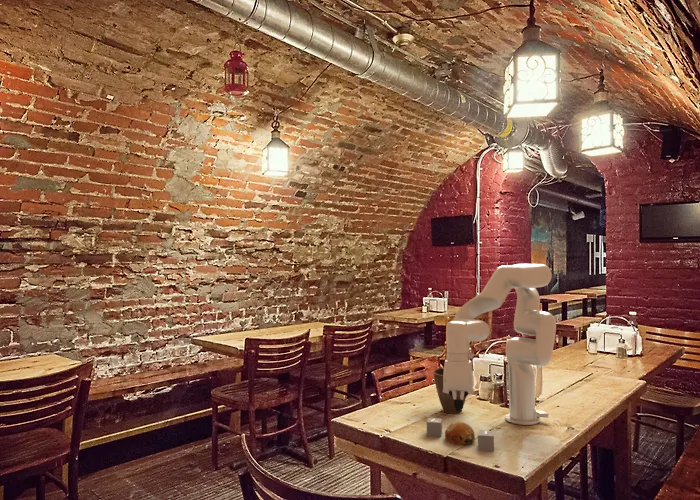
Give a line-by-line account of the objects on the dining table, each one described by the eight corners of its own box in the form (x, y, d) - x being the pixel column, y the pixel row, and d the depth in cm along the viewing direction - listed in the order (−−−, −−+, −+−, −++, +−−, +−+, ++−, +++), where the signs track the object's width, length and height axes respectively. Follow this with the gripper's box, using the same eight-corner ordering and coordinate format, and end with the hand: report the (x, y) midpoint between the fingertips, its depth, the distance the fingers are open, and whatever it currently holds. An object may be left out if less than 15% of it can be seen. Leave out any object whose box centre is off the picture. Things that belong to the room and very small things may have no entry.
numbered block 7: (442, 432, 191) (442, 418, 191) (441, 437, 186) (440, 422, 186) (428, 431, 192) (428, 417, 192) (426, 436, 187) (426, 421, 187)
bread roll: (472, 447, 186) (469, 423, 189) (479, 444, 177) (476, 419, 180) (444, 448, 185) (441, 424, 189) (449, 445, 176) (447, 420, 180)
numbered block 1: (494, 446, 177) (493, 430, 177) (494, 451, 172) (493, 435, 172) (478, 445, 178) (478, 429, 178) (478, 450, 173) (477, 434, 173)
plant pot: (471, 417, 208) (470, 376, 208) (433, 415, 211) (432, 375, 211) (470, 406, 223) (469, 368, 223) (434, 405, 226) (434, 367, 226)
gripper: (480, 356, 185) (481, 408, 185) (437, 354, 189) (438, 406, 189) (479, 360, 178) (480, 415, 177) (435, 358, 182) (435, 412, 181)
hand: (458, 410), depth 183 cm, fingers closed
